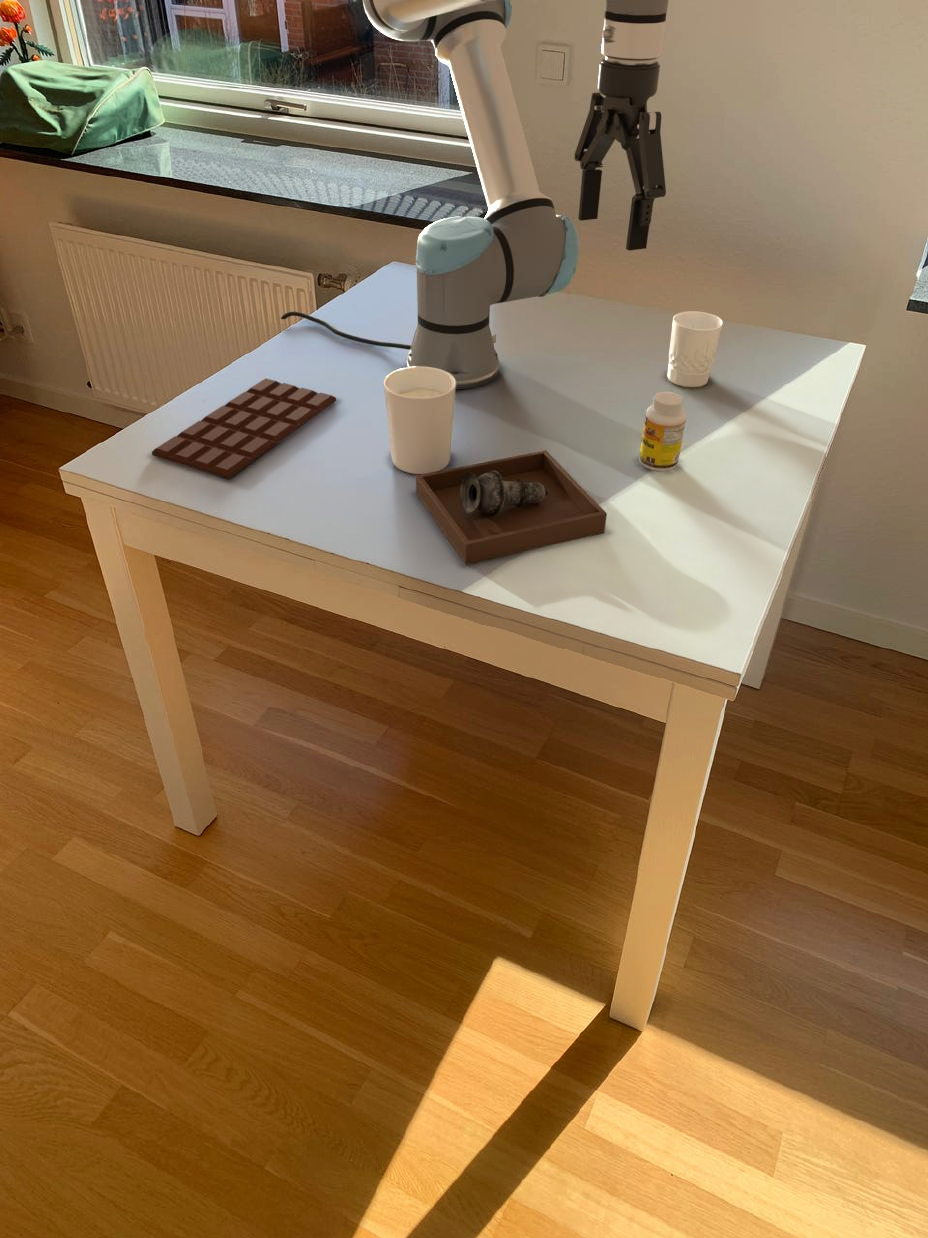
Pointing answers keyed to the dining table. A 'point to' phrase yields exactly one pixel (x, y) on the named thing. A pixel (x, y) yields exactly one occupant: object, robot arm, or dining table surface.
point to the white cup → (693, 347)
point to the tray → (511, 509)
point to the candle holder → (420, 418)
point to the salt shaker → (497, 493)
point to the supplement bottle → (663, 432)
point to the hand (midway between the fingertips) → (611, 233)
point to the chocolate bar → (244, 428)
